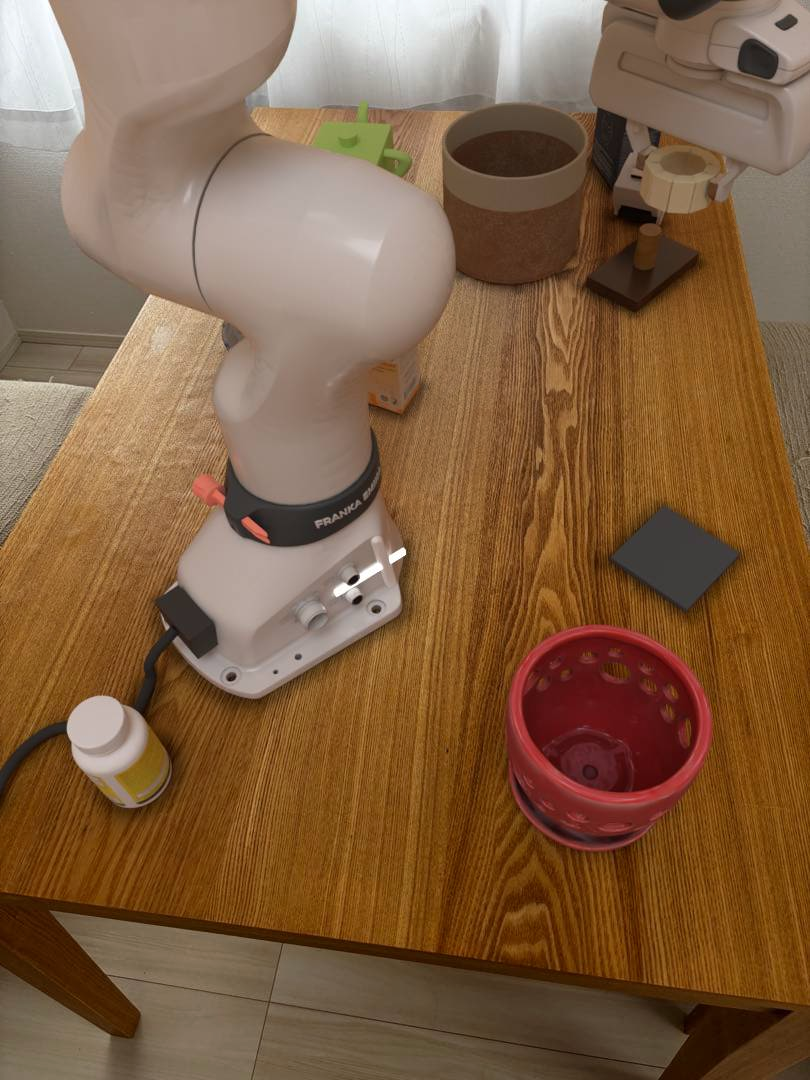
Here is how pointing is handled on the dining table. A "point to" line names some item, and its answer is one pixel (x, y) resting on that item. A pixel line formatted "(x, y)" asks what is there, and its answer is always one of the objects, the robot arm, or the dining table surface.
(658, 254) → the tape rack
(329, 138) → the teapot
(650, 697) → the flower pot
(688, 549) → the mat
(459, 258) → the planter
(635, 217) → the grey boxy gadget
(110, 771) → the supplement bottle
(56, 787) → the dining table surface
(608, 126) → the box
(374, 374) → the supplement box
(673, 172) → the tape roll
